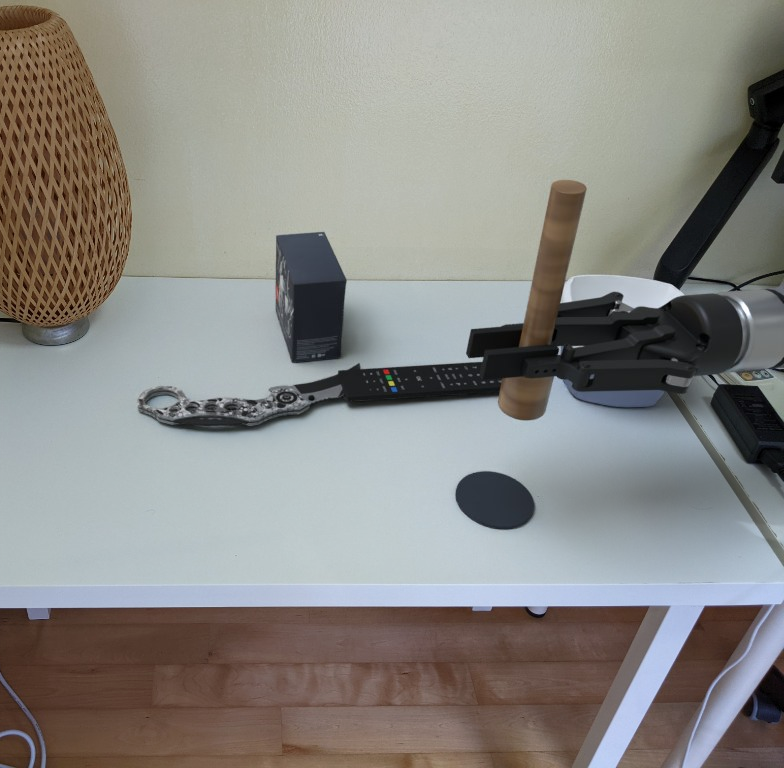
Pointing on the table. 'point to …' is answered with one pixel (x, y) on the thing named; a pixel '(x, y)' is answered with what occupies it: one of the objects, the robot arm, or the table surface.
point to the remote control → (415, 381)
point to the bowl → (634, 296)
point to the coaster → (494, 500)
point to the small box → (309, 296)
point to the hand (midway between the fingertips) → (477, 354)
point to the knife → (241, 404)
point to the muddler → (545, 297)
